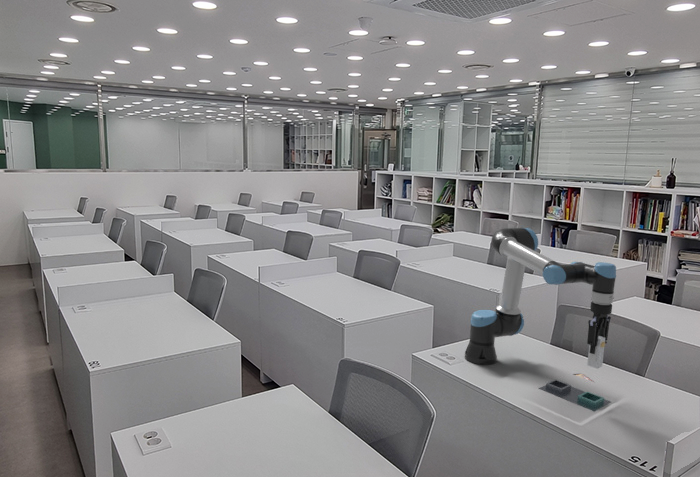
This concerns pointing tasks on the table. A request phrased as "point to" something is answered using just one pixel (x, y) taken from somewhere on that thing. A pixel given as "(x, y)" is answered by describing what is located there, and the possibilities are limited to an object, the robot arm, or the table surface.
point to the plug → (598, 353)
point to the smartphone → (583, 376)
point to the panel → (575, 395)
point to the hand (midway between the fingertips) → (595, 359)
